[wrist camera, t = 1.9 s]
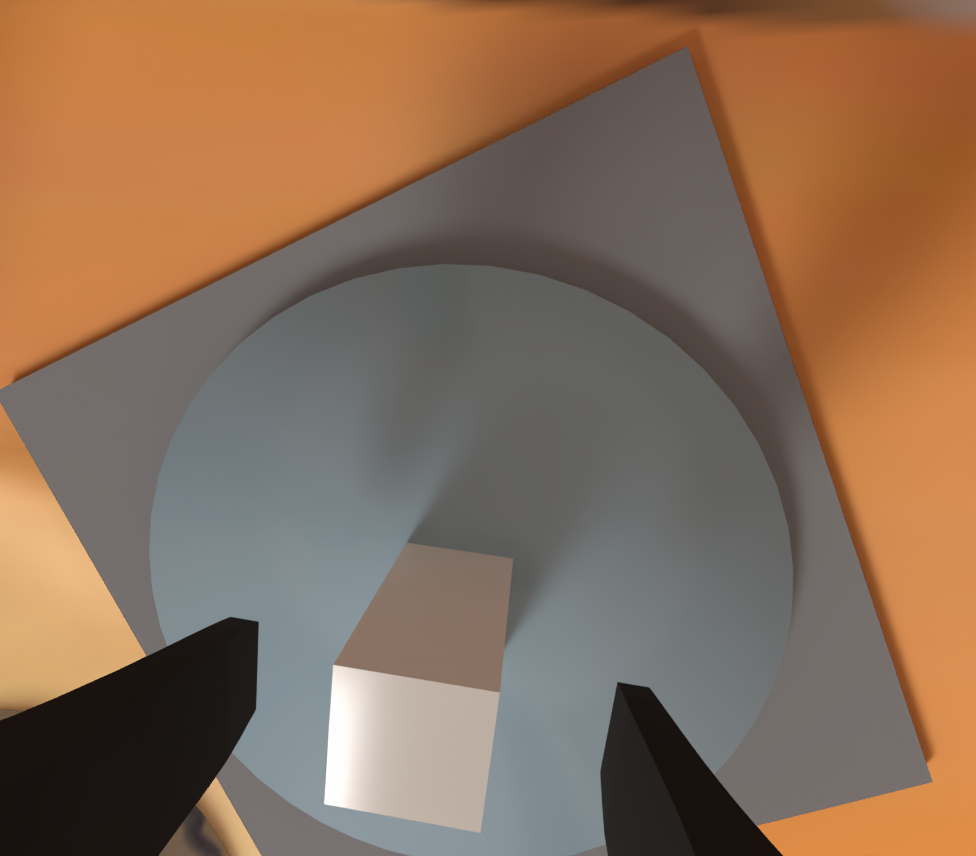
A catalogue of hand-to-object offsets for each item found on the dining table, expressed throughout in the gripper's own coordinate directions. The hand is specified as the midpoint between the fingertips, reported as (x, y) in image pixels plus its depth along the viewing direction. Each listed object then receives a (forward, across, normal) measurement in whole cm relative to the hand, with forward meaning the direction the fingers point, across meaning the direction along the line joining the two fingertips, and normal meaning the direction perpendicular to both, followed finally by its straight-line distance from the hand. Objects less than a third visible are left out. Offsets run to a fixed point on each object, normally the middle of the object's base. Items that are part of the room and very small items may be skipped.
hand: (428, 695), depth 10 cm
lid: (+4, 0, 0) cm, 4 cm away
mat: (+5, 0, 0) cm, 5 cm away
